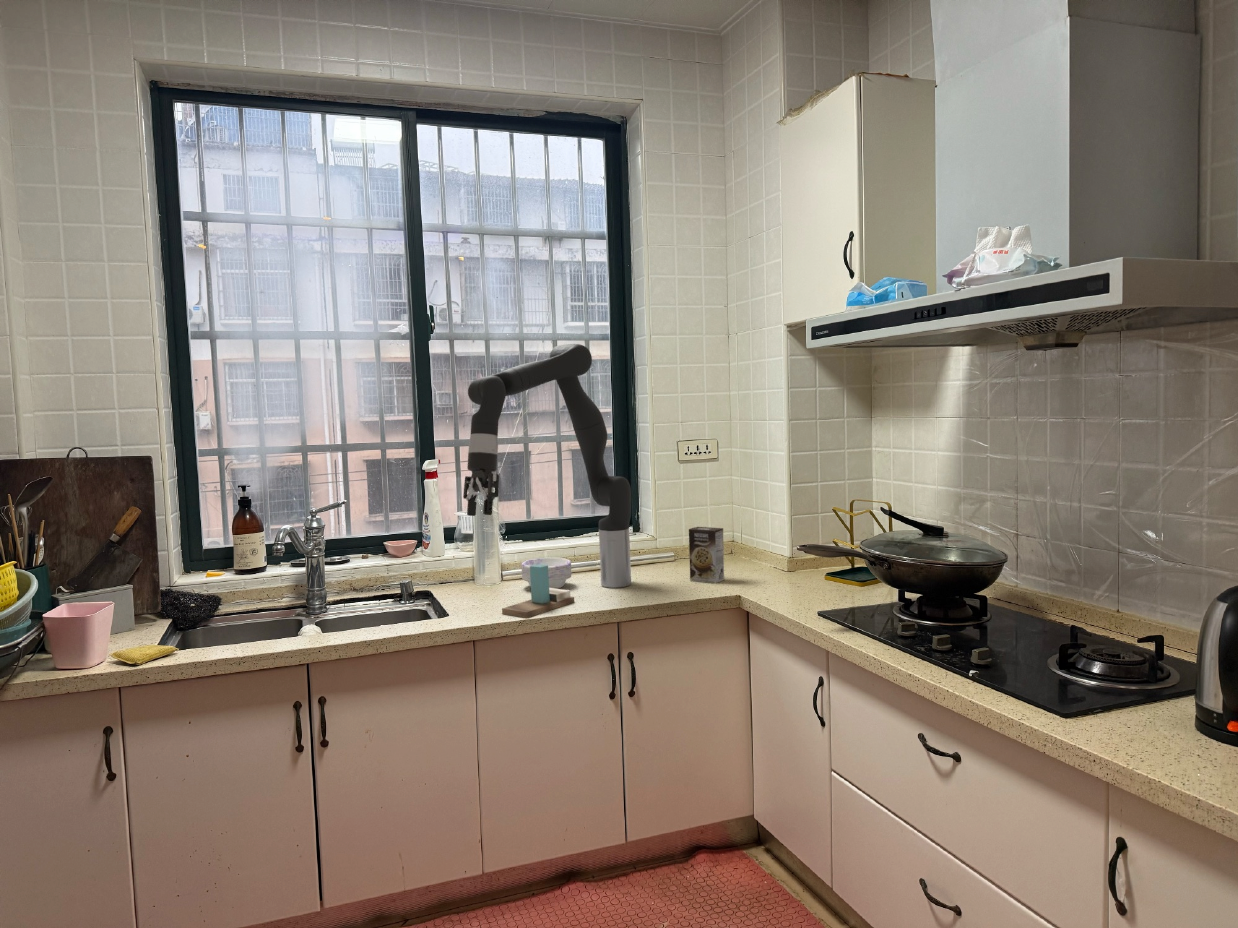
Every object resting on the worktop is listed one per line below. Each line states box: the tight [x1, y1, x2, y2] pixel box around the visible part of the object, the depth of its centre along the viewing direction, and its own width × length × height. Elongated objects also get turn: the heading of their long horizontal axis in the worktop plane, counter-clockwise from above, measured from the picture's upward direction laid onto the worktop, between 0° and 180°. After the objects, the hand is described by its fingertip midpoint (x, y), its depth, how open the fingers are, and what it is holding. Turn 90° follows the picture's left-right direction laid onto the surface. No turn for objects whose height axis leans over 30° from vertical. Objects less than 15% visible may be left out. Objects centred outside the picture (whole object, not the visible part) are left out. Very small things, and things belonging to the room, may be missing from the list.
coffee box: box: [688, 526, 725, 584], centre depth 261 cm, size 9×6×16 cm
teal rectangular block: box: [530, 564, 550, 604], centre depth 235 cm, size 3×4×10 cm
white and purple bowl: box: [521, 557, 573, 589], centre depth 261 cm, size 15×15×8 cm
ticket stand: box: [501, 588, 575, 619], centre depth 235 cm, size 20×9×4 cm, turn 143°
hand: (479, 515), depth 219 cm, fingers open, 8 cm apart
